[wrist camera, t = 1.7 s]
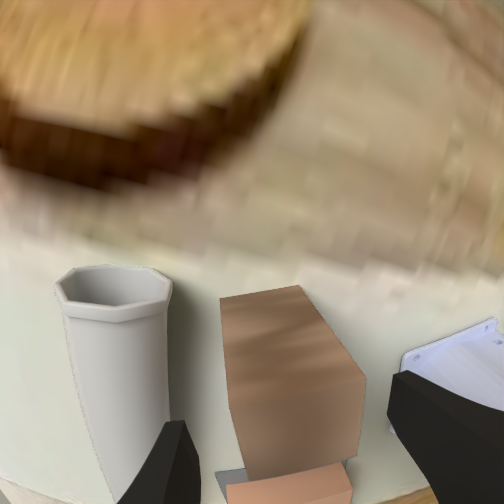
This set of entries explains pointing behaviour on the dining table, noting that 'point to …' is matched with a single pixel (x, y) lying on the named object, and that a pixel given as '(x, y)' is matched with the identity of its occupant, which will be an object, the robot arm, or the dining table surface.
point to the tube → (118, 361)
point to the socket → (289, 487)
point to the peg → (289, 384)
